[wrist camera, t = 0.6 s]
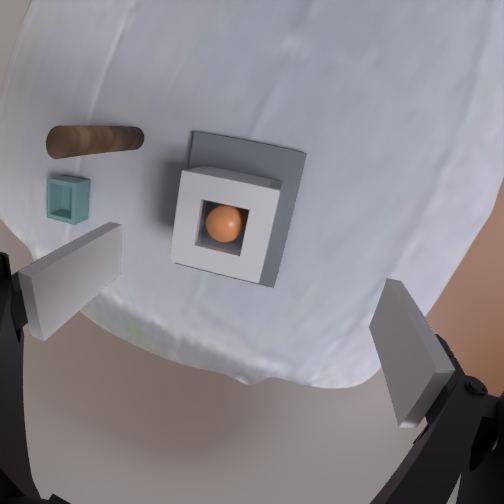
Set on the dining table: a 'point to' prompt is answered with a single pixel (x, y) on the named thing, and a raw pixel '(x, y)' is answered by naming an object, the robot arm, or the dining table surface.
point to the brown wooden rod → (91, 140)
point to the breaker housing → (239, 195)
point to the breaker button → (226, 222)
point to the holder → (68, 199)
